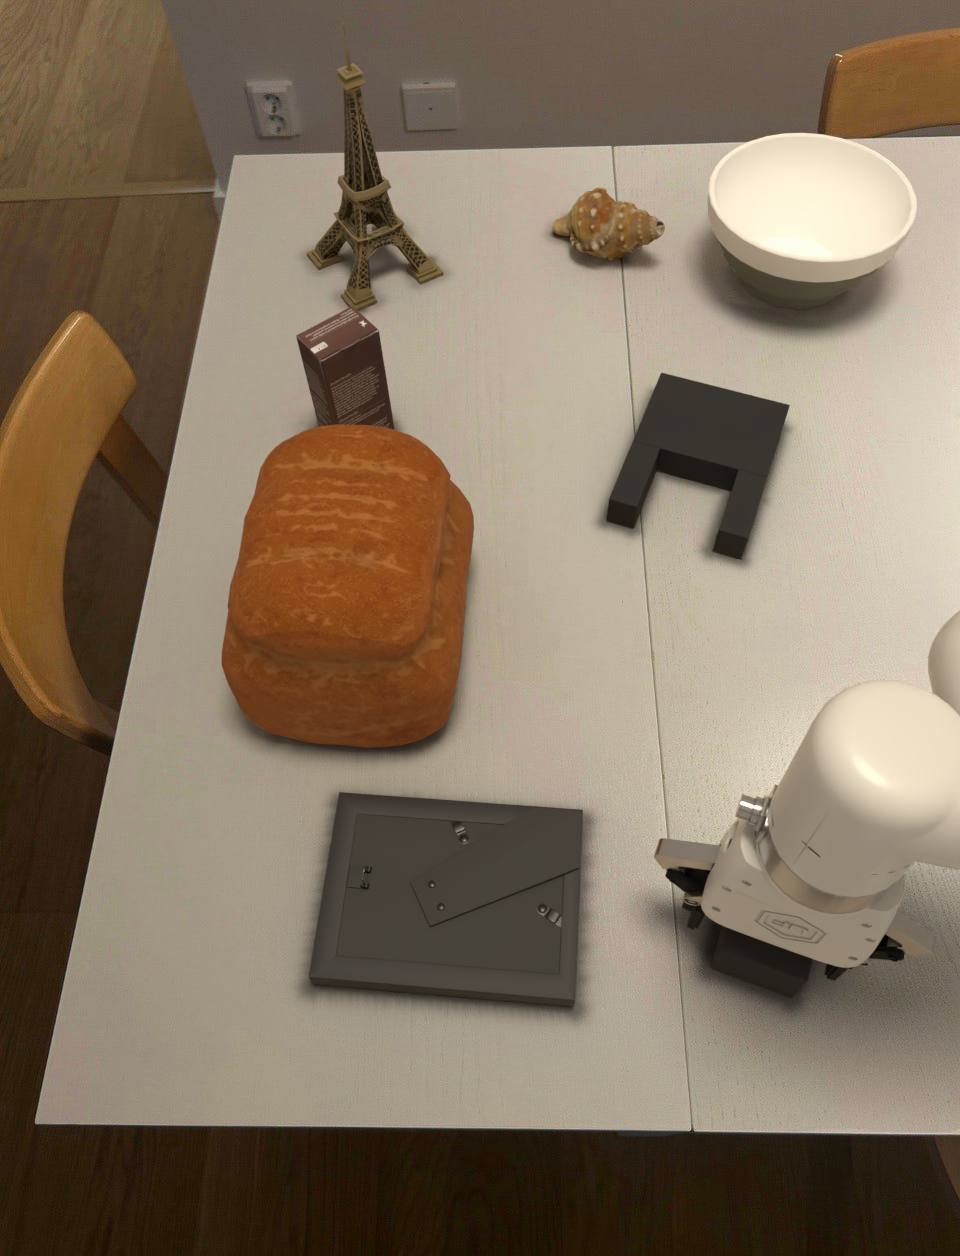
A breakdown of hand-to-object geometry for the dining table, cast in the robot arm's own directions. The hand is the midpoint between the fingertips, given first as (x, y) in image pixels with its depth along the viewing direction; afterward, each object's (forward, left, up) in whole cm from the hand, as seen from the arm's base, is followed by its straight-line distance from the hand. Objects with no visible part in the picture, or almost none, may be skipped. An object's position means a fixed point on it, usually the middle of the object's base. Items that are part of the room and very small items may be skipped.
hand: (764, 932), depth 72 cm
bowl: (+13, -68, -2) cm, 69 cm away
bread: (+36, -13, -2) cm, 38 cm away
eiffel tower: (+54, -55, -2) cm, 77 cm away
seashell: (+32, -66, -2) cm, 73 cm away
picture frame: (+21, +5, -2) cm, 22 cm away
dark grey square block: (0, 0, -1) cm, 1 cm away
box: (+46, -33, -2) cm, 57 cm away
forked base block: (+15, -39, -1) cm, 42 cm away
